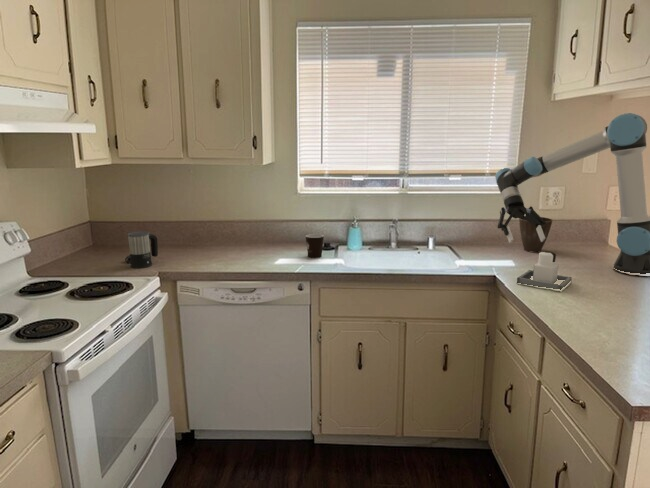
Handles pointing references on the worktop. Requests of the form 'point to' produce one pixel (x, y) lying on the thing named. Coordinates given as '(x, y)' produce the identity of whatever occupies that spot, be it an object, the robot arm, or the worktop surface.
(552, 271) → the medicine bottle
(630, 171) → the robot arm
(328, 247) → the worktop surface
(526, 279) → the tray
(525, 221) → the plant pot
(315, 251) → the coffee mug
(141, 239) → the milk frother
